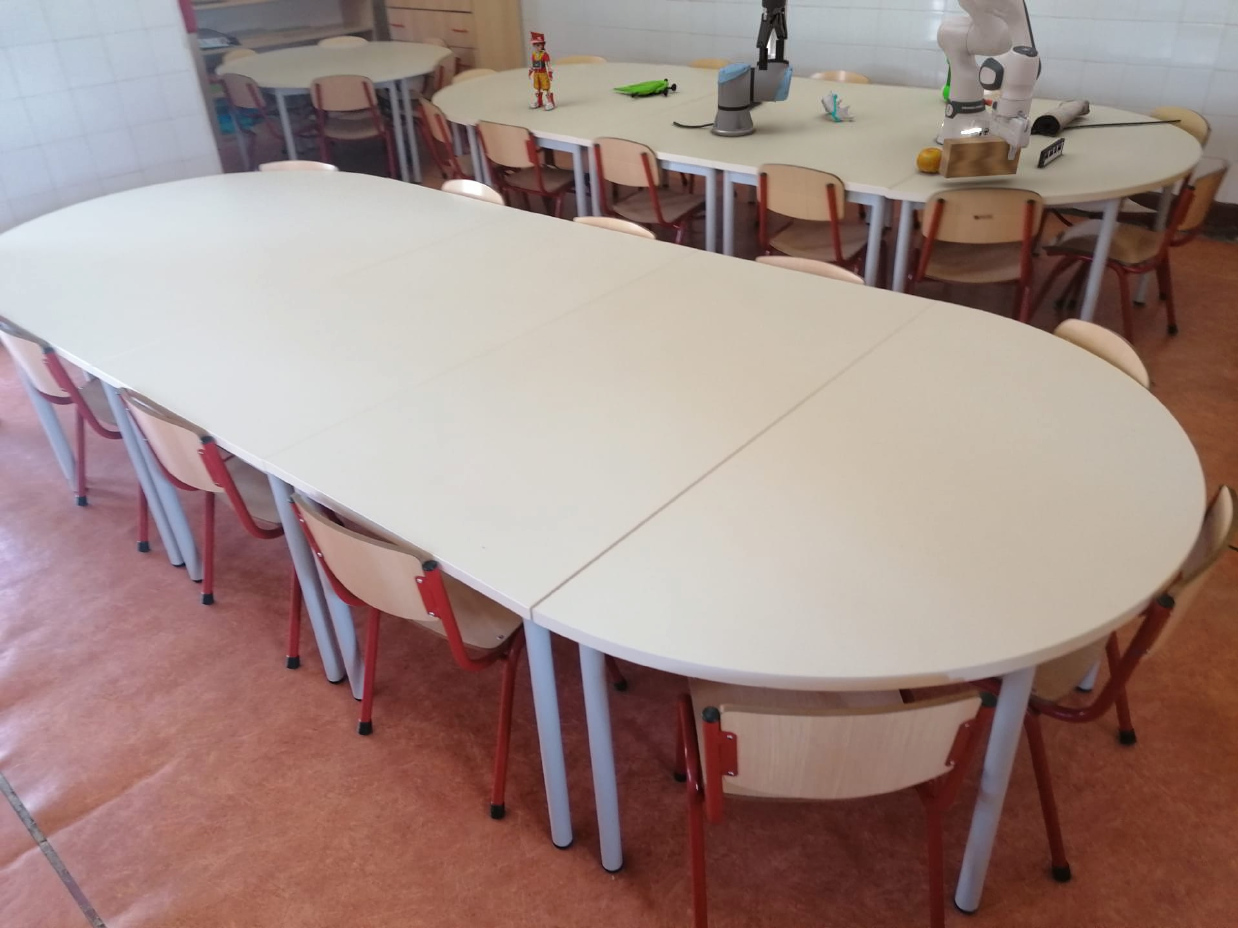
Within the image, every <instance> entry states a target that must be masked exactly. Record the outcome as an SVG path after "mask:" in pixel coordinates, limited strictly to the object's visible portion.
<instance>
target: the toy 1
mask: <svg viewBox="0 0 1238 928" xmlns="http://www.w3.org/2000/svg"><path fill="white" fill-rule="evenodd" d="M529 33H530V35H531V36H528V37H527V38H528V39H529V40H528V41H527V43H529V44H530V43H531V44H532V48H533V50H534V51H533V52H532V55H531V58H530V59H531V63H530V66H528V74H527V75H528V76H527V77H528V79H529V80H531V75H532V74H533V84H532V85H533V86H532V87H533V88H534V89H535V90H536V92H534V95H535V97H536V100H535V101H533V102H531V105H530V108H531V109H535V108H538V107H542V106H544V101H543V100H544V99H543V95H544V92H546V94H545V97H546V99H547V103H546V104H545V106H544V110H546V111H549V110H553V109H554V107H555V106H556V105H555V99H554V92H551V91H550V90H551V86H552V84H551V82H552V81H553V80H554V77H553V73H554V71H555V70H554V69H552V68H551V63H550V61H551V59H550V58H551V57H550V54H549V53H548V52H547V50H546V48H545V46H546V44H547V41H545V35H544V33H543V32H542V33H539V32H535V31H529Z"/></svg>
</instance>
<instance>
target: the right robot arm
mask: <svg viewBox="0 0 1238 928" xmlns="http://www.w3.org/2000/svg"><path fill="white" fill-rule="evenodd" d="M957 1H958V4H959V6H960V7H961V8H962V10H964V11H965V12H966V13H967V14H968V16H967V15H957V16H950V17H947V18H945V19H944V20H943V21H942V22H941V24H940V25H939V27H938V29H937V32H936V41H937V45H938V47H939V48H940V49H941V50H942V52H943V53H944V55H945V57H946V59H947V58H948V61H949V64H950V69H951V81H950V91H949V97H948V98H947V101H946V102H945V110H944V113H945V115H944V119H943V123H942V126H941V130H940V132H939V135H938V137H937V139H936V141H937V142H938V143H939V144H941V145H943V142H944V139H951V138H969V137H986V136H999V137H1001V138H1003V139H1004V140H1006V141H1007V143H1008V144H1010V151H1009V153H1007V157H1006V158H1007V159H1008V160H1013V159H1014V157H1015V154H1016V152H1017V150H1018V148H1021V149H1026V148H1028V146H1029V145H1030V139H1031V135H1032V134H1039V133H1041V132H1040V131H1033V132H1031V127H1032V122H1031V120H1030V119H1029V116H1030V112H1031V107H1032V104H1033V103H1032V102H1033V97H1034V94H1033V93H1034V92H1033V91H1034V87H1035V85H1036V83H1037V81H1038V79H1039V77H1040V76H1041V72H1042V66H1043V65H1042V60H1041V57H1040V54H1039V51H1038V50H1037V46H1036V44H1035V39H1034V34H1033V29H1032V24H1031V20H1030V15H1029V11H1028V7H1027V4H1026V1H1025V0H957ZM976 56H982V57H988V58H986V59H985V60H984V61H983V62H982V64H981V66H980V65H979V63H978V62H977V60H976ZM949 64H948V65H949ZM985 91H990V92H997V91H998V92H999V91H1000V95H999V99H997V100H996V99H995V100H992V99H990V98H987V99H986V98H984V93H985ZM986 106H987V107H991V109H992V110H991V113H990V112H989V111H988V110H987V107H986ZM1181 122H1182V119H1170V120H1156V121H1137V122H1135V121H1134V122H1114V123H1113V122H1111V123H1094V124H1080V125H1069V126H1065V127H1064V128H1063V129H1062V130H1068V129H1080V128H1081V129H1082V128H1093V127H1110V126H1132V125H1133V126H1135V125H1153V124H1154V125H1155V124H1170V123H1181Z"/></svg>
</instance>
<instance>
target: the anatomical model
mask: <svg viewBox="0 0 1238 928" xmlns="http://www.w3.org/2000/svg"><path fill="white" fill-rule="evenodd" d="M820 99H821V100H820V101H821V104H822V106H823V108H824V110H825V112H827V113H829V114H830V115H831V116H832V118H833V120H834V121H835V122H841V121H843V120H853V119H854V118H855V116H854V115H851V114H849V113H848V110H849V109H850V108H851V105H845V106H843V107H841V106H840V104H841V102H842V101H843V98H840V99H838V94H837V93H835V92H834V91H833V90H830V92H829V94H828V95H826V96H822V97H821V98H820ZM837 99H838V100H837Z"/></svg>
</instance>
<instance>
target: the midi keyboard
mask: <svg viewBox="0 0 1238 928" xmlns="http://www.w3.org/2000/svg"><path fill="white" fill-rule="evenodd" d="M1065 141H1066V138H1065V137H1061V138H1059V139H1057V140H1056V141H1054V142H1053V143H1051V144H1050V145H1048V146H1046V147H1045V148H1043V149H1042V150H1041V151H1040V153H1039V158H1038V162H1037V168H1043V167H1044V166H1045V165H1047V164H1048V163H1049V162H1051V161H1053V160H1054V159H1055V158H1057V157H1058V156H1060V155H1062V154H1063V149H1064V145H1065Z"/></svg>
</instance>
